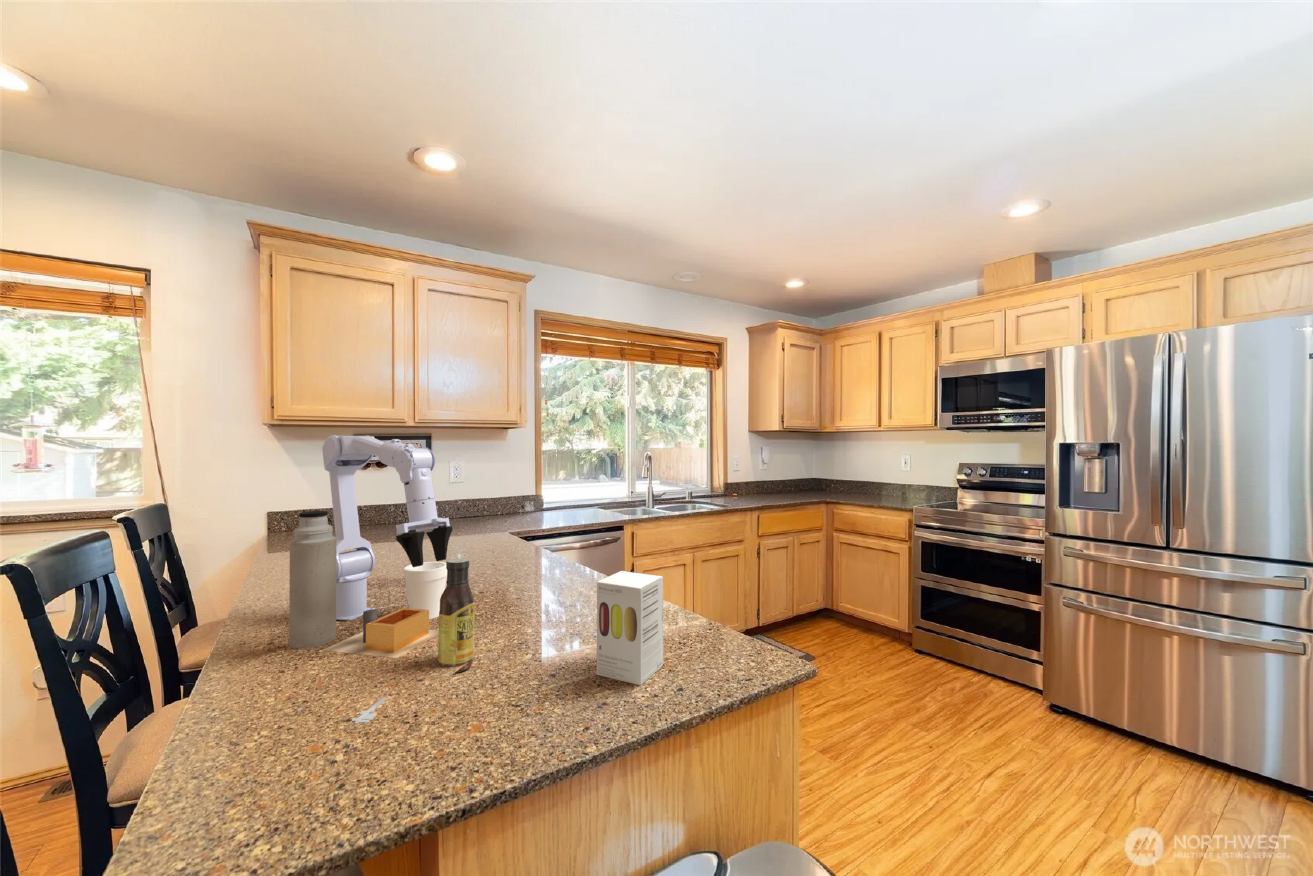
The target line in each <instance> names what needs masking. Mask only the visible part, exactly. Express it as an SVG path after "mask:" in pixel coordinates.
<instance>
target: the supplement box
mask: <svg viewBox="0 0 1313 876" xmlns="http://www.w3.org/2000/svg"><path fill="white" fill-rule="evenodd" d="M662 666H664V576H662V575H654V574H648V573H647V574H646V573H638V572H630V571H625V570H621V571H618V572H615V573H613V574H611V575H609V576H607V577H605V578H602V579H600V580H598V581H597V582H596V665H595V667H596V668H595V671H596V673H595V674H596V675H597V676H600V677H603V678H609V679H611V680H617V681H621V682H624V683H625V682H626V683H629V684H634V685H637V686H642V685H643V684H644V683H645V682H646V681H647V680H649V678H651V676H653V675H654V674H655V673H656V672H658V670H660V669H661V667H662Z"/></svg>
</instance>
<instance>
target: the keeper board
mask: <svg viewBox="0 0 1313 876" xmlns="http://www.w3.org/2000/svg"><path fill="white" fill-rule="evenodd" d="M362 619H363V620H362V632H359V633H357V634H355V635H353V636H351V637H348V638H346V639H344V640H341V641H339V642H337V643H335V644H333V645H331V646H328V647H326V648H324V649H323V651H326V652H335V653H344V654H345V653H346V654H351V655H353V654H354V655H364V656H373V657H382V658H391V659H397V658H399V657H402V656H403V655H405V654H407V653H408V652H410V651H412V650H414V649H415V648H417V647H419V646H421V645H423V644H424V643H425V642H428V641H430V640H431V639H433V638H435V637H437V636H439V629H438V630H435V629H429V634H427V635H426V636H424V637H422V638H420V639H418V640H416V641H415V642H413V643H411V644H409V645H407V646H405V647H404V648H402V649H400V650H398V651H396V652H394V653H393V652H383V651H374V650H366V624H367V623H369V622H372V621H374V620H376V619H378V609H376V608H375V609H371V610H366V611H364V612H363V616H362Z"/></svg>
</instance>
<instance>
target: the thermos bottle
mask: <svg viewBox="0 0 1313 876" xmlns="http://www.w3.org/2000/svg"><path fill="white" fill-rule="evenodd" d="M328 514H329V512H328V511H327V510H312V511H311V510H309V511H303V512H299V513H298V517H299V520H298V521H299V523H298V527H296V528H294V530H293V534H292V536H293V539H291V540H289V603H288V605H289V610H288V611H289V616H288V617H289V622H288V623H289V628H288V629H289V637H288V638H289V639H288V641H289V644H288V646H289V647H290V648H292V649H308V648H309V649H311V648H315V647H319V646H323V645H326V644H329V643H331V642H333V641H334V640H335V639H336V638H337V620H336V535H333V531H334V529H333V526H332V525H330V524H329V522H328V520H329V519H328Z"/></svg>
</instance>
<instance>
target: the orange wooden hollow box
mask: <svg viewBox="0 0 1313 876" xmlns="http://www.w3.org/2000/svg"><path fill="white" fill-rule="evenodd" d="M429 630H430V619H429V610H423V609H411V608H409V607H401V608H399V609H397V610H394V611H393V612H391V613H388V614H386V615H384V616H381V617H378V618H377V619H376V620H374V621H372V622H369V623H367V624H366V650H374V651H383V652H393V653H394V652H396V651H398V650H400V649H402V648H404V647H405V646H407V645H409V644H411V643H413V642H415V641H416V640H418V639H420V638H422V637H424V636H426V635H427V634H429Z"/></svg>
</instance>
